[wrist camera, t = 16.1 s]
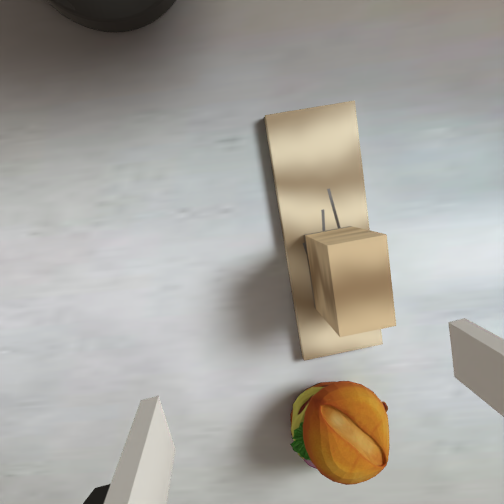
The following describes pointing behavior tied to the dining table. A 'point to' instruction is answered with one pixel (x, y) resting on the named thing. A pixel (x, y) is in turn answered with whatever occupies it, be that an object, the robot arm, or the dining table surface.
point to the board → (317, 205)
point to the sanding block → (351, 279)
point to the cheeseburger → (341, 431)
